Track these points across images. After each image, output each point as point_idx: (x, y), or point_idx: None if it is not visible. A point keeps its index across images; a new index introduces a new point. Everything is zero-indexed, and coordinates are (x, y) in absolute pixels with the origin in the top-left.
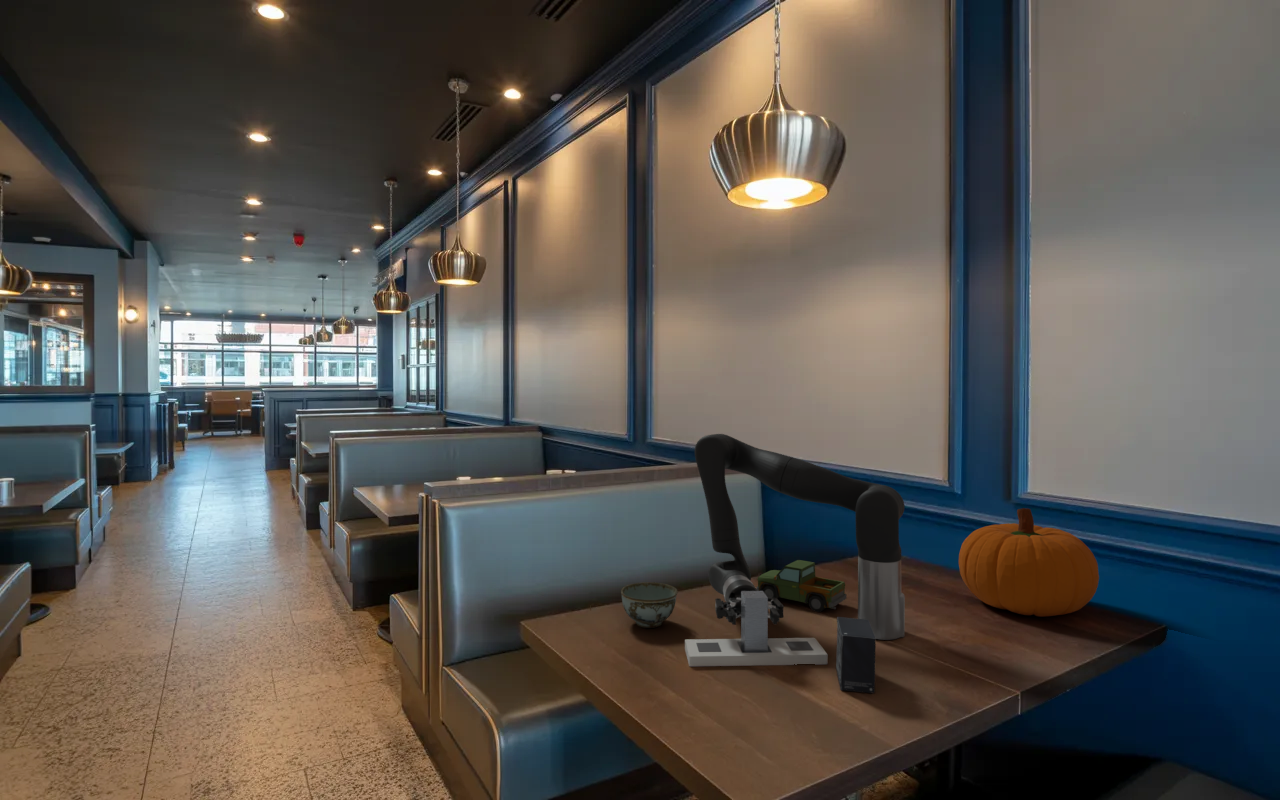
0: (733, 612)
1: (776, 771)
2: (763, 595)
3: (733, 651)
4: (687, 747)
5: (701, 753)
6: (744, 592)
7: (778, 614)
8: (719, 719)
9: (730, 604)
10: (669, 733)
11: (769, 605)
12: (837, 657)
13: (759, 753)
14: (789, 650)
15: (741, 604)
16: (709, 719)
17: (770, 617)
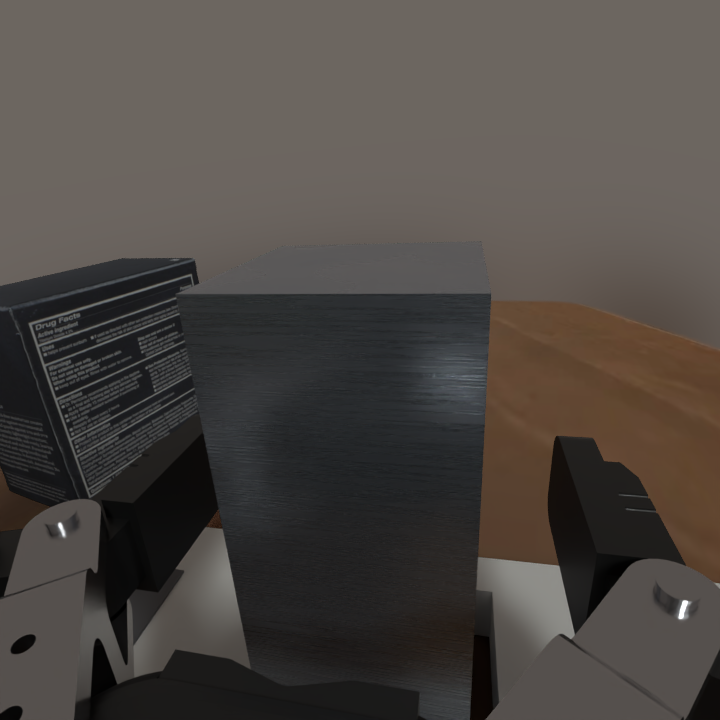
0: (584, 464)
1: (492, 311)
2: (281, 256)
3: (550, 622)
4: (644, 335)
5: (614, 328)
6: (452, 279)
7: (162, 441)
8: (589, 372)
9: (672, 708)
10: (699, 353)
11: (49, 563)
12: (126, 421)
13: (511, 326)
14: (192, 575)
15: (482, 456)
16: (614, 373)
17: (168, 554)
